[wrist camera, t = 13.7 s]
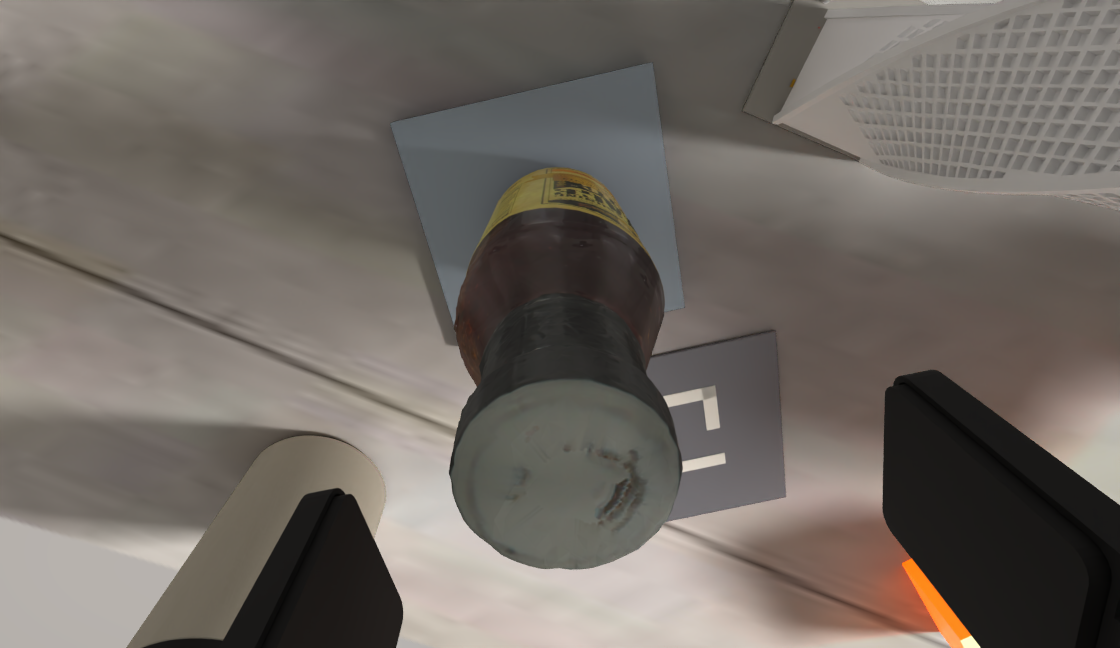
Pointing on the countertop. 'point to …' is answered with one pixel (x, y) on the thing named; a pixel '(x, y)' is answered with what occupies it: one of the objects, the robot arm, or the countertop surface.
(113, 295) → the countertop surface
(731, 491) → the tile
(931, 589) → the orange juice
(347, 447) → the travel mug
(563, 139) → the pad
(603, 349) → the sauce bottle
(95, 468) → the countertop surface
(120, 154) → the countertop surface
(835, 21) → the skyscraper
